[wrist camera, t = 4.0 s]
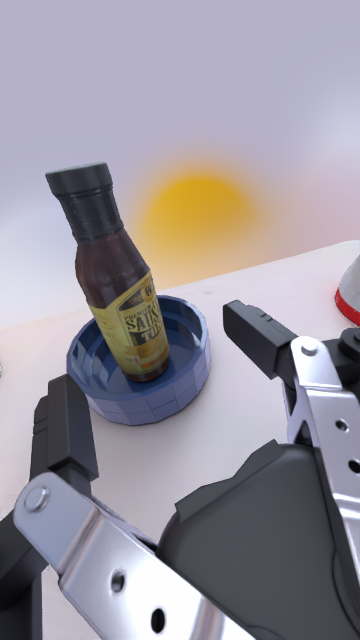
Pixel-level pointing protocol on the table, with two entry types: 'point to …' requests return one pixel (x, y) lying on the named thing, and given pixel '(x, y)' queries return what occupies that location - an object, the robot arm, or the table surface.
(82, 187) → the sauce bottle
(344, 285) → the kitchen timer
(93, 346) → the bowl
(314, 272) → the table surface
